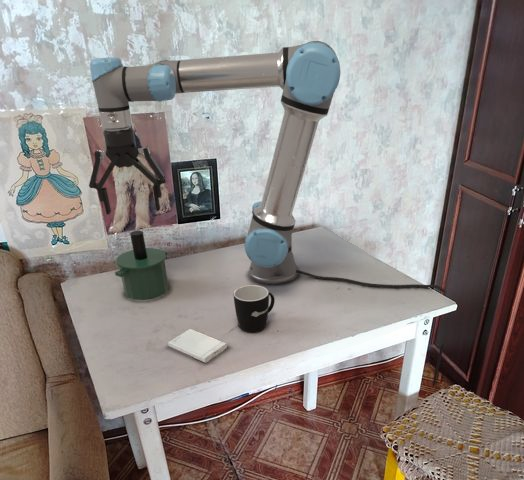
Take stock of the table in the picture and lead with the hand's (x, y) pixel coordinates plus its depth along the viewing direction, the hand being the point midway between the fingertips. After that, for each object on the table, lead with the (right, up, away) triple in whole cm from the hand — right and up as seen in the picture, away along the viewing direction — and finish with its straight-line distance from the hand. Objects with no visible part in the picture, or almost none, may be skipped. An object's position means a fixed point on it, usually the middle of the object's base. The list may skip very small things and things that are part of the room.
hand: (133, 211), depth 137 cm
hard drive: (+20, -38, -13) cm, 45 cm away
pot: (+1, -21, +14) cm, 25 cm away
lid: (0, -12, +8) cm, 14 cm away
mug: (+34, -32, -5) cm, 47 cm away
